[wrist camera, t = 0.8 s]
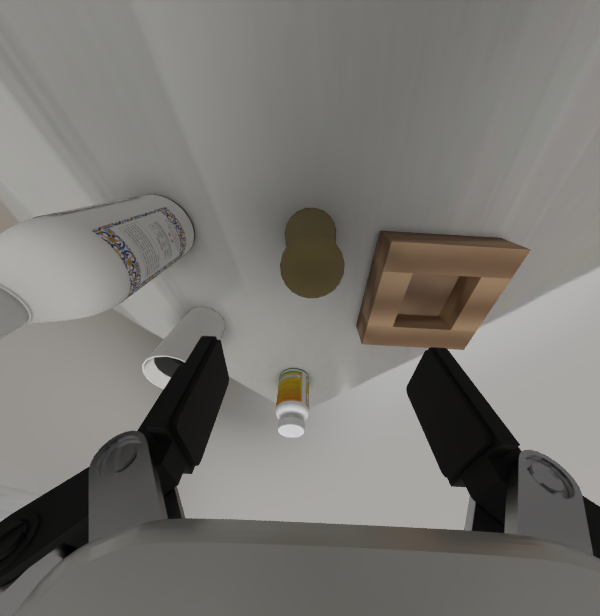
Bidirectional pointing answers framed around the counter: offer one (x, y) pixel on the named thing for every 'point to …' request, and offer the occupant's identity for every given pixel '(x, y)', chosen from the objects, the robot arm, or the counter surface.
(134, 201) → the bath foam
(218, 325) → the white cylindrical cup
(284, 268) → the olive brown peg
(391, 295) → the socket block
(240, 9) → the counter surface
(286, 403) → the supplement bottle
